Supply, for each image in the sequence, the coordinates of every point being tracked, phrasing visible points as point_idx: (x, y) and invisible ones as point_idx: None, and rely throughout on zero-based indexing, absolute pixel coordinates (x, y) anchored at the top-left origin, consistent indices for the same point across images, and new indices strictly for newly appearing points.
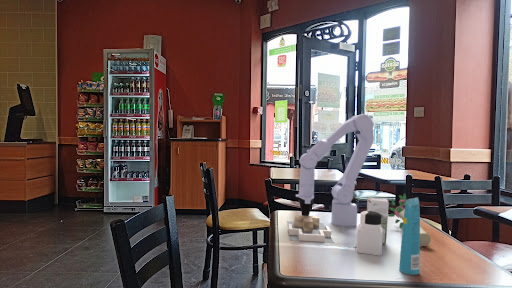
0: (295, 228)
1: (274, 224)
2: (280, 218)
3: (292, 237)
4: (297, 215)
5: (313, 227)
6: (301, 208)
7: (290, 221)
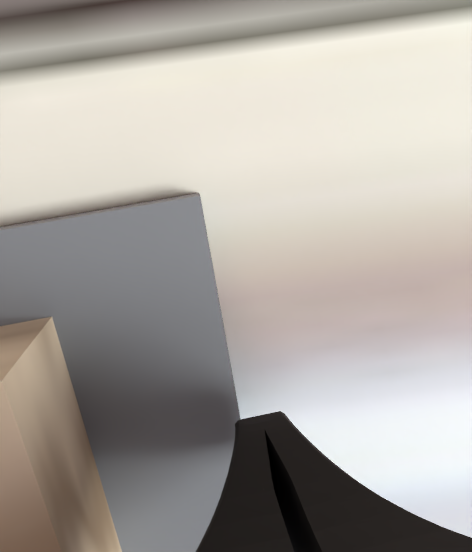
0: None
1: (43, 13)
2: (462, 57)
3: None
4: (5, 430)
5: None
6: (203, 538)
7: (203, 245)
